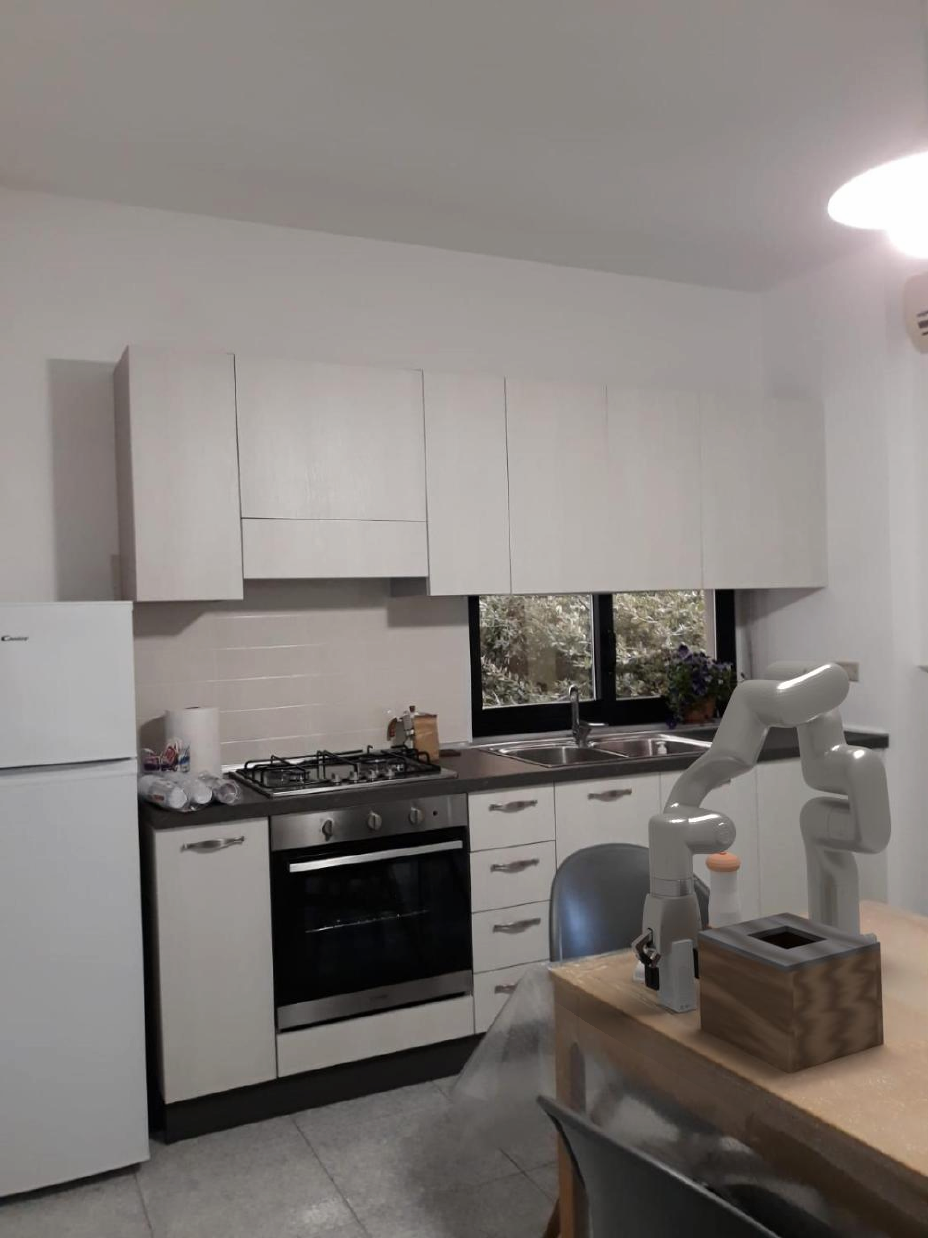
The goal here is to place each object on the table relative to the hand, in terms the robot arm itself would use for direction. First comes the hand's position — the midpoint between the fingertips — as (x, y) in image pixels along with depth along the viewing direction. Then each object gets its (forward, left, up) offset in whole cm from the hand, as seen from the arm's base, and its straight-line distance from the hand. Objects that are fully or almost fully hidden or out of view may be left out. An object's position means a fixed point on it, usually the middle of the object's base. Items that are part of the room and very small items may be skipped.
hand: (674, 983), depth 184 cm
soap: (-6, -15, -5) cm, 17 cm away
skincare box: (0, 0, -4) cm, 4 cm away
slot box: (-7, +20, -4) cm, 22 cm away
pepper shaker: (-31, -22, -4) cm, 38 cm away
